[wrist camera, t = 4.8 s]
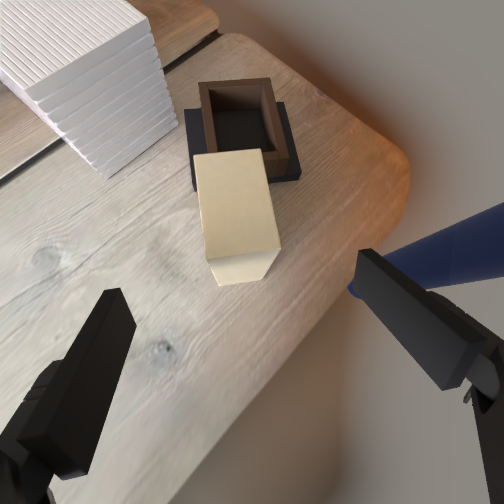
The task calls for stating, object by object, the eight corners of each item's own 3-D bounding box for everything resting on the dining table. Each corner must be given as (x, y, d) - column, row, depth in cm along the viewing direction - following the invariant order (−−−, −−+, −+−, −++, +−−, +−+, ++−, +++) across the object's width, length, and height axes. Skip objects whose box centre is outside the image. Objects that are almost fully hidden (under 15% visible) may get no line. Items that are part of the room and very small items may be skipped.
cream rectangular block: (250, 217, 26) (260, 147, 16) (262, 279, 24) (282, 248, 14) (210, 222, 26) (193, 154, 15) (219, 286, 24) (205, 259, 13)
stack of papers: (178, 125, 29) (147, 16, 19) (106, 180, 26) (23, 89, 16) (18, -9, 33) (-79, -156, 23) (-57, 27, 31) (-205, -121, 21)
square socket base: (281, 110, 31) (288, 75, 26) (299, 181, 28) (310, 155, 24) (186, 118, 29) (177, 83, 25) (195, 193, 27) (187, 168, 22)
